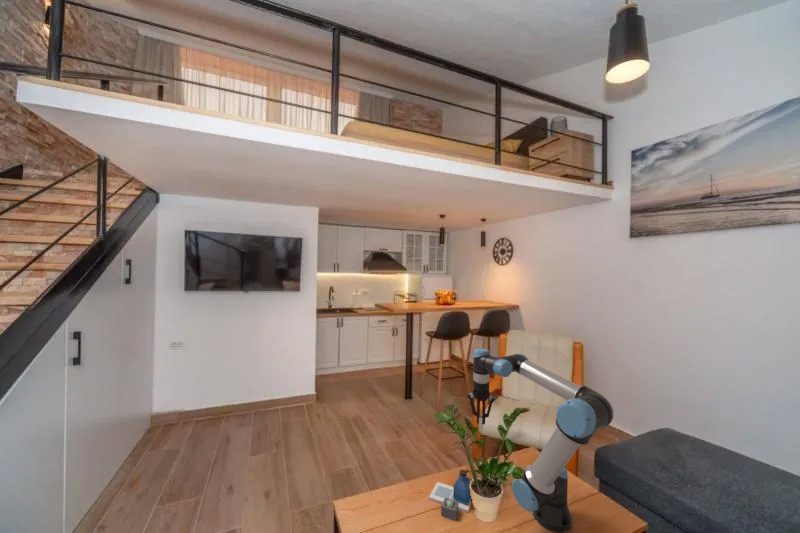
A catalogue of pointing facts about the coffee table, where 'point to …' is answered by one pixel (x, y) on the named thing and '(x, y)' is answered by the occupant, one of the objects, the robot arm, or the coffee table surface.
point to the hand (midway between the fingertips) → (480, 430)
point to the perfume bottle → (462, 488)
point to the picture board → (446, 495)
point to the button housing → (449, 509)
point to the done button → (450, 503)
